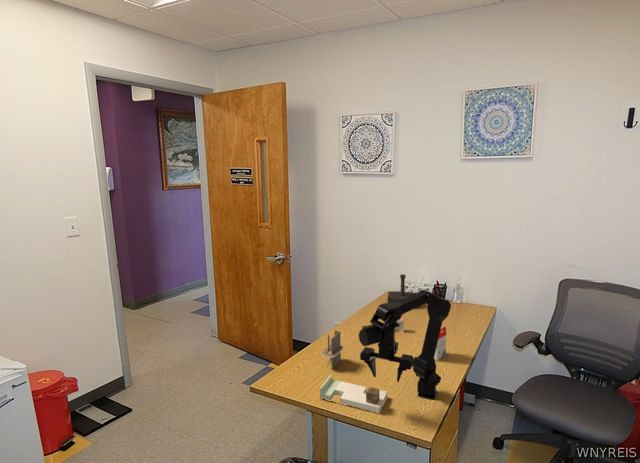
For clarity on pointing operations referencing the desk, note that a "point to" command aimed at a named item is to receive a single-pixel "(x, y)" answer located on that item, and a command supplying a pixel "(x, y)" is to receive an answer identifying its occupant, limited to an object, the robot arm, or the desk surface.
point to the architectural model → (333, 350)
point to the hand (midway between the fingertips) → (386, 379)
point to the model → (400, 325)
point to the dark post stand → (398, 295)
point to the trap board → (351, 394)
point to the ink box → (441, 345)
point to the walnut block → (372, 395)
